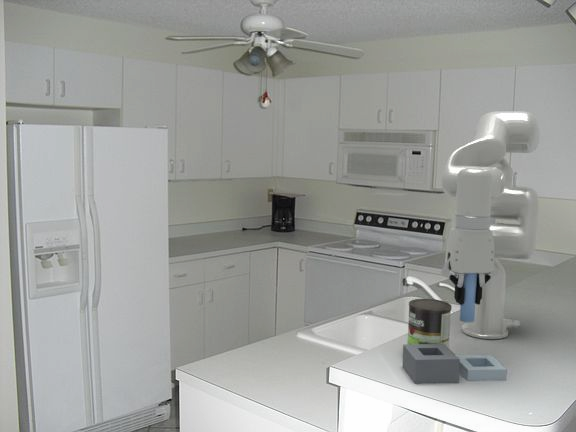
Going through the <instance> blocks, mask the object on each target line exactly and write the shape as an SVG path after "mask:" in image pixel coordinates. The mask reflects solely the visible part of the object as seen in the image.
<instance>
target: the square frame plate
mask: <svg viewBox="0 0 576 432" xmlns="http://www.w3.org/2000/svg"><path fill="white" fill-rule="evenodd" d="M456 356H457V357H458V358H459V359H460V366H459V374H461V376H462V377H464V379H465V380H466V381H467V382H478V381H479V382H480V381H485V382H486V381H487V382H488V381H507V375H508V369H507V368H506V367H505V366H503V365H502V364H501V362H499V361H498V360H497V359H496V358H494V357H493V356H492V355H490V354H485V355H484V354H483V355H480V354H479V355H478V354H474V355H473V354H472V355H471V354H470V355H469V354H468V355H456Z"/></svg>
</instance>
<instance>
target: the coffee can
mask: <svg viewBox="0 0 576 432" xmlns="http://www.w3.org/2000/svg"><path fill="white" fill-rule="evenodd" d="M451 313H452V304H451V303H449V302H447V301H444V300H441V299H435V298H416V299H415V298H414V299H412V300H409V302H408V324H407V325H408V327H407V328H408V329H407V343H406V344H445V345H446V346H447V347H448V348H449V347H450V331H451V315H452V314H451ZM449 349H450V348H449Z"/></svg>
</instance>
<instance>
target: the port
mask: <svg viewBox="0 0 576 432" xmlns="http://www.w3.org/2000/svg"><path fill="white" fill-rule="evenodd" d="M402 347H403V348H402V368H403V370H404V371H405V373H406V374H407V375H408V377H409V378H410V379H411V381H412V382H413V383H414V384H415V385H421V384H422V385H424V384H428V385H429V384H460V383H459V382H460V372H459V366H460V359H459V358H458V357H457V356H458V355H457V354H455V352H453V351H452V350H451V349H450V348H448V347H447V346H446V345H445V344H407V343H405V344H403V345H402Z"/></svg>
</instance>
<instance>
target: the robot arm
mask: <svg viewBox="0 0 576 432" xmlns="http://www.w3.org/2000/svg"><path fill="white" fill-rule="evenodd" d="M540 135H541V134H540V128H539V125H538V121H537V118H536V117H535V115H534V114H533V113H532V112H529V111H522V110H520V111H519V110H518V111H517V110H515V111H511V110H508V111H507V110H505V111H503V110H501V111H497V110H496V111H490V112H487V113H485V114H484V115H482V116H481V118H480V119H479V120H478V124H477V126H476V127H475V128H474V131H473V140H472V141H470V142H469V143H466V144H464V145H463V146H461V147H459V148H457V149H456V150H454V152H452V153H450V155H449V157H448V159H447V161H446V163H445V167H444V169H443V172H442V176H441V177H442V178H441V189H442V191H443V193H444V194H445V195H446V196H448V197H452V198H455V212H454V213H455V214H454V215H455V217H454V227H451V228H450V230H449V234H448V239H447V244H446V248H445V249H446V250H445V259H444V265H443V267H442V269H441V270H440V275H442V276H444V277H446V278H447V279H448V280H450V281H451V282H452V283H453V285H454V300H455V302H456V303H458V304H459V305H460V306H461V305H463V304H464V295H465V288H464V287H463V280H464V274H477V283H476V300H475V317H474V322H464V324H462V325H461V332H462V333H464V334H465V335H467V336H470V337H473V338H477V339H478V338H479V339H484V340H499V339H500V340H501V339H502V340H503V339H505V338H507V337H508V335H509V330H508V329H510V328H520V325H521V322H520V320H517V319H515V320H513V319H511V318H505V317H504V311H505V295H506V293H505V292H506V282H507V281H506V279H507V277H506V270H505V268H504V267H503V265H502V263H501V262H500V261H499V259H498V258H500V259H502V258H503V259H513V260H530V259H531V258H532V257H533V256H534V255H535V251H536V248H537V247H536V246H537V237H538V236H537V235H538V224H539V223H538V221H539V209H540V208H539V206H540V205H539V202H540V201H539V195H538V193H537V191H536V190H535V189H534V188H532V187H528V186H514V185H513V176H514V175H513V174H514V171H513V168H512V166H511V164H510V162H508V161H507V159H505V156H506V153H507V154H508V153H509V154H510V153H511V154H516V153H518V154H530V153H533V152H534V151H536V150H537V148H538V146H539V144H540ZM496 220H501V221H502V220H503V221H504V220H505V221H514V222H515V221H516V222H518V223H519V224H518V223H516V224H515V223H504V222H496ZM450 271H451V272H452V273H453V274H452V273H451V272H450Z"/></svg>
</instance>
